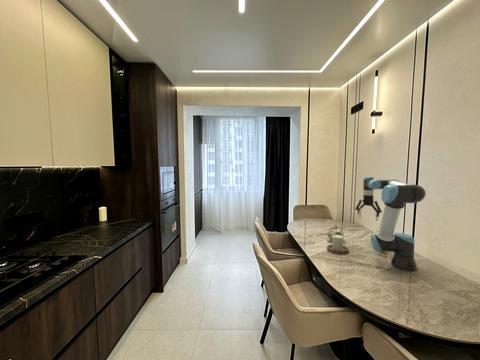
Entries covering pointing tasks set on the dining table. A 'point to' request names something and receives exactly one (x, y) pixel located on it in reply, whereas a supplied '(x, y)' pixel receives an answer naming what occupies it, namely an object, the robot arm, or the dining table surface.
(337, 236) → the grey-green tapered block
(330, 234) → the sugar bowl
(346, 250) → the trivet
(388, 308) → the dining table surface
